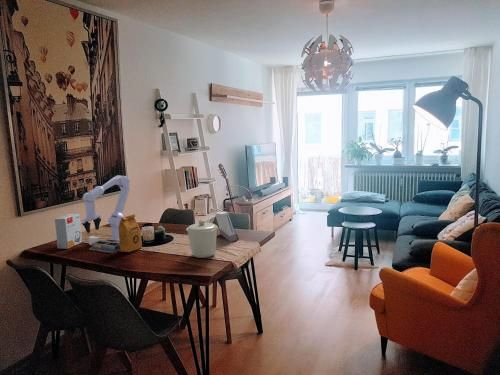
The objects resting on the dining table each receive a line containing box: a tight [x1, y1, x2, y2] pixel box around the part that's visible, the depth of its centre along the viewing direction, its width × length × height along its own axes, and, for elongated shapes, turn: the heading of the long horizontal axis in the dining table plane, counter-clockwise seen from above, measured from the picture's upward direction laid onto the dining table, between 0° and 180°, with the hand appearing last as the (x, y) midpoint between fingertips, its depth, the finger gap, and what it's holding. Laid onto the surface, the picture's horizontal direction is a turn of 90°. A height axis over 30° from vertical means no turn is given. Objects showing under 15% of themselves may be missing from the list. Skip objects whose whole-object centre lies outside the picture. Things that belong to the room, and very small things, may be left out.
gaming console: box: [214, 211, 240, 243], centre depth 258 cm, size 23×8×20 cm, turn 22°
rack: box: [88, 239, 120, 254], centre depth 245 cm, size 12×20×4 cm, turn 64°
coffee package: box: [118, 213, 143, 253], centre depth 238 cm, size 10×12×22 cm
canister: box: [185, 219, 219, 259], centre depth 223 cm, size 18×18×21 cm
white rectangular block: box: [88, 235, 101, 246], centre depth 255 cm, size 3×7×5 cm, turn 63°
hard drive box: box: [54, 213, 83, 250], centre depth 255 cm, size 16×8×20 cm, turn 168°
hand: (92, 231), depth 253 cm, fingers open, 7 cm apart
